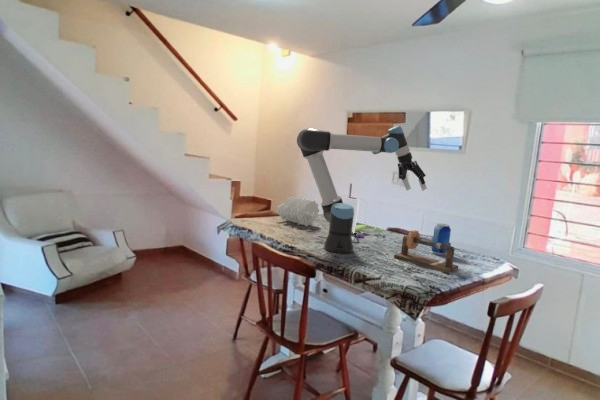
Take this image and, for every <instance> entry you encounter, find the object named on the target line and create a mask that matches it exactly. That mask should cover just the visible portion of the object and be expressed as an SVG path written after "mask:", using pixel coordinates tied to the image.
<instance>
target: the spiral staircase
mask: <svg viewBox="0 0 600 400" xmlns="http://www.w3.org/2000/svg"><path fill="white" fill-rule="evenodd" d="M276 208H277V213H278V216H280V219H281V220H285V221H286V222H292V224H294V223H296V224H297V225H298V226H299V225H302V226H303V225H304V227H308V226H312V225H313V223H314V222H316V221H317V219H319V212H320V208H319V204H318V203H317V202H316V200H311V199H306V198H303V199H302V197H301V196H300V197H296V196H291V195H290V196H289V197H288V198H286V200H285V201H284V203H281V204H280V205H278V206H276Z"/></svg>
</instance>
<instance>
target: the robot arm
mask: <svg viewBox="0 0 600 400" xmlns="http://www.w3.org/2000/svg"><path fill="white" fill-rule="evenodd" d="M296 144H297V146H298V148H299V149H300V151H301V154H302V156H303V159H306V160H307V163H308V164H309V165H308V166H309V167H310V170H311V173H312V176H313V179H314V181H315V184H316V187H317V189H318V191H319V195H320V197H321V199H322V201H321V203H320V206H321V209H322V212H323V218H324V219H325V221H326V222H328V223H329V230H328V235H327V237H326V239H325V242H324V244H323V250H326V251H328V252H330V253H336V254H338V253H339V254H350V253H353V252H354V245H353V238H352V235H353V234H352V233H353V232H352V227H353V224H354V223H353V222H354V215H355V209H354V206H352V205H350V204H348V203H344V202H343V199H342V197H341V196H339V195H338V193H337V191H336V188H335V184H334V182H333V179H332V176H331V173H330V171H329V167H328V165H327V162H326V160H325V157H324V152H325V151H330V150H340V151H341V150H342V151H343V150H344V151H356V152H357V151H359V152H371V153H372V154H373V155H377V154H380V153H387V154H388V153H389V154H392V153H395V156H396V159H397V161H398V163H397V167H398V179H400V180H402V183H403V186H404V187H405V190H406V191H409V190H410V189H411V185H410V182H409V179H408V178H407V173H408V171H410V172H412V173H413V174H414V175H415V176H416V177H417V178H418V182H419V185H420V188H421V191H422V192H423V191H425V190H427V189H428V188H427V184H426V181H425V177H426V176H427V175H426V174H425V173H424V170H423V169H422V168H421V167H420V166H419V164H418V162H417V160H412V159H413V156H412V152H411V150H410V147H409V145H408V142H407V139H406V136H405V133H404V131H403V128H402V127H401V125H396V126H393V127H391V128H389V129H387V134H385V135H383V136H370V135H369V136H368V135H355V134H343V133H332V132H331V131H330V130H329V131H328V130H327V131H326V130H321V129H318V128H317V129H316V128H309V127H308V128H304V129H302V130H301V131H299V133H298V135H297V138H296ZM411 190H412V189H411Z"/></svg>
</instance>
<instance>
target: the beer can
mask: <svg viewBox="0 0 600 400" xmlns="http://www.w3.org/2000/svg"><path fill="white" fill-rule="evenodd" d="M451 231H452V230H451V227H450V224H446V223H436V226H435V227H434V229H433V237H432V242H435V243H441V244H444V245H448V246H450V238H451ZM431 252H432V254H433V255H438V256H447V250H443V249H437V248H435V247H431Z"/></svg>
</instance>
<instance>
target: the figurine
mask: <svg viewBox="0 0 600 400" xmlns="http://www.w3.org/2000/svg"><path fill="white" fill-rule="evenodd" d="M355 226H356V229H355V234H356V238H359V237H360V238H361V239H362V238H364V237H365V233H364V232H363V231H364V230H366V229H367V228H368V229H373V230H374V231H375V232H383V231H384V229H383V228H380V229H377V227H376V226H371V225H367V224H357V225H355Z"/></svg>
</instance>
